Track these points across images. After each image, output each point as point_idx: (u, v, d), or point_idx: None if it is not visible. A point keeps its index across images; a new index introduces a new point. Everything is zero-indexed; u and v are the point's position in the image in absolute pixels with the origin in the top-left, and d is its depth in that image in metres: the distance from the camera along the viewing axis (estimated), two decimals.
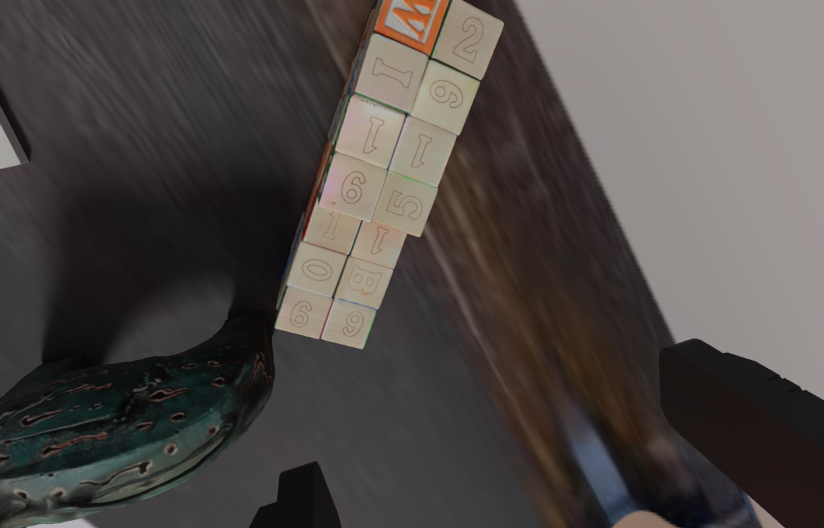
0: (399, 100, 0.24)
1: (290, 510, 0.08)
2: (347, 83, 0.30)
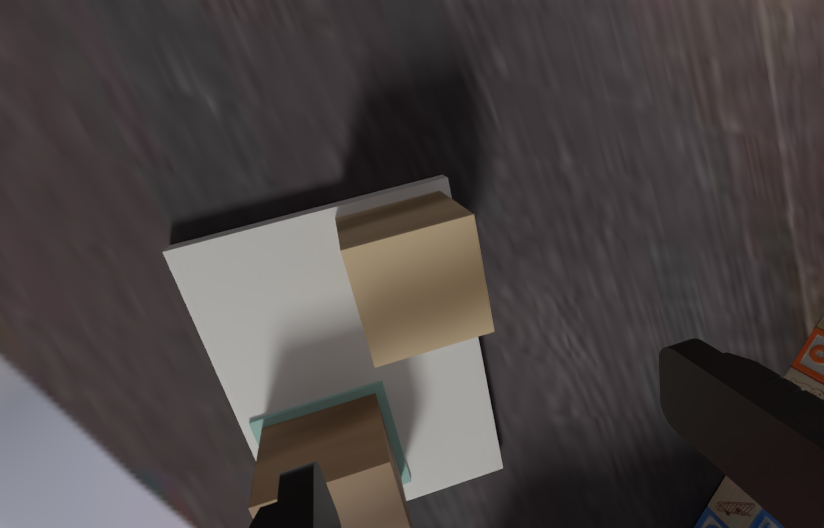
0: None
1: (290, 510, 0.08)
2: None
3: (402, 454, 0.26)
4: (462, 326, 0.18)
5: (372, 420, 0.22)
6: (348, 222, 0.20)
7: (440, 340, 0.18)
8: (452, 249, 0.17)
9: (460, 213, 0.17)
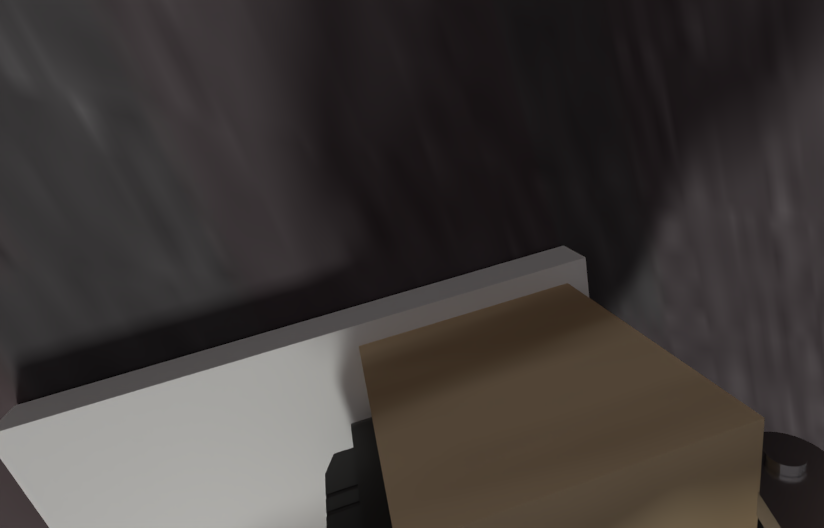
0: None
1: (367, 452, 0.09)
2: None
3: None
4: None
5: None
6: (392, 374, 0.09)
7: None
8: (694, 505, 0.06)
9: (706, 400, 0.06)
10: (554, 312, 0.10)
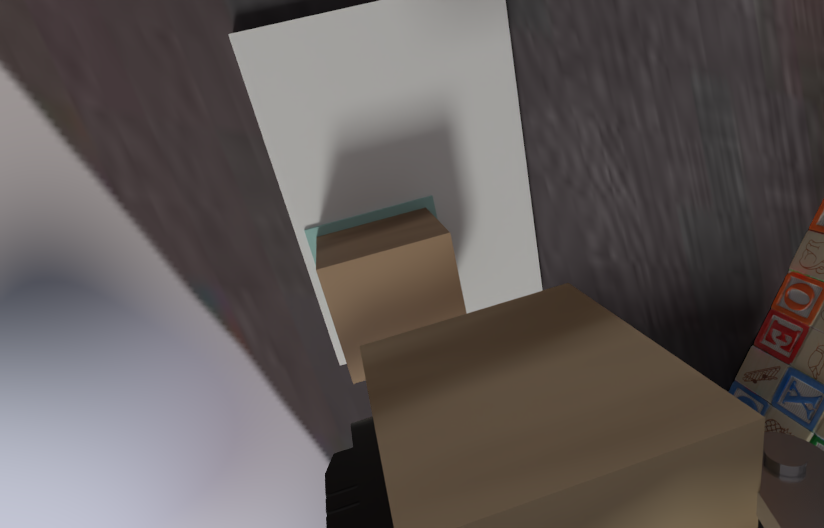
0: None
1: (367, 451, 0.09)
2: None
3: None
4: None
5: (426, 218, 0.23)
6: (392, 373, 0.09)
7: None
8: (694, 505, 0.06)
9: (706, 400, 0.06)
10: (555, 312, 0.10)
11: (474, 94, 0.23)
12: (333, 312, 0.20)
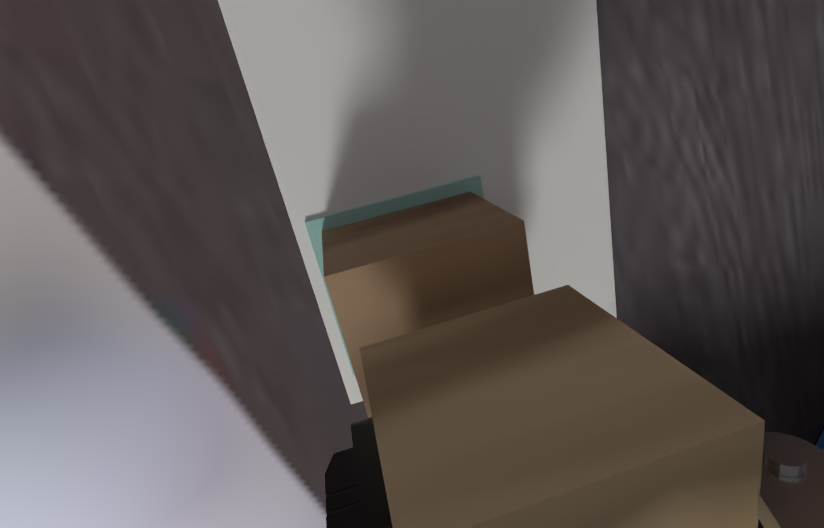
0: None
1: (367, 452, 0.09)
2: None
3: None
4: None
5: (478, 204, 0.16)
6: (392, 376, 0.09)
7: None
8: (693, 507, 0.06)
9: (706, 403, 0.06)
10: (554, 314, 0.10)
11: (540, 33, 0.17)
12: (349, 340, 0.14)
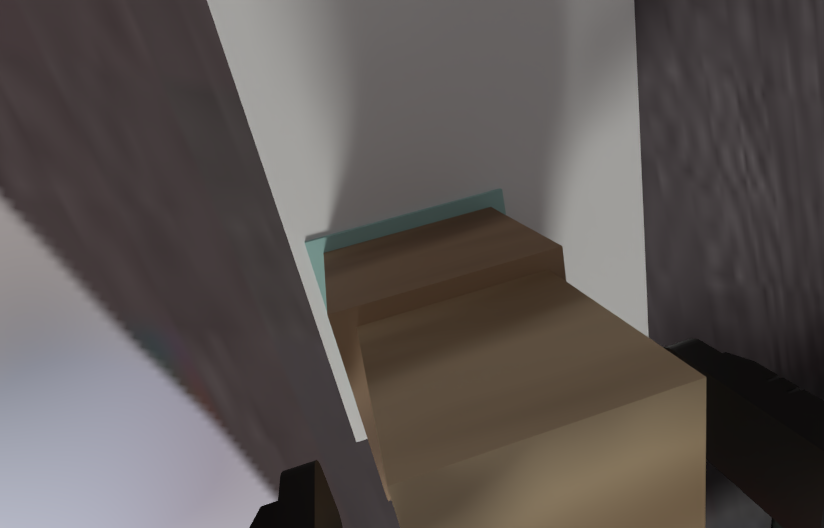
0: None
1: (291, 509, 0.08)
2: None
3: None
4: None
5: (502, 223, 0.14)
6: (386, 349, 0.10)
7: None
8: (646, 455, 0.07)
9: (659, 364, 0.07)
10: (534, 294, 0.10)
11: (571, 28, 0.15)
12: (357, 387, 0.11)
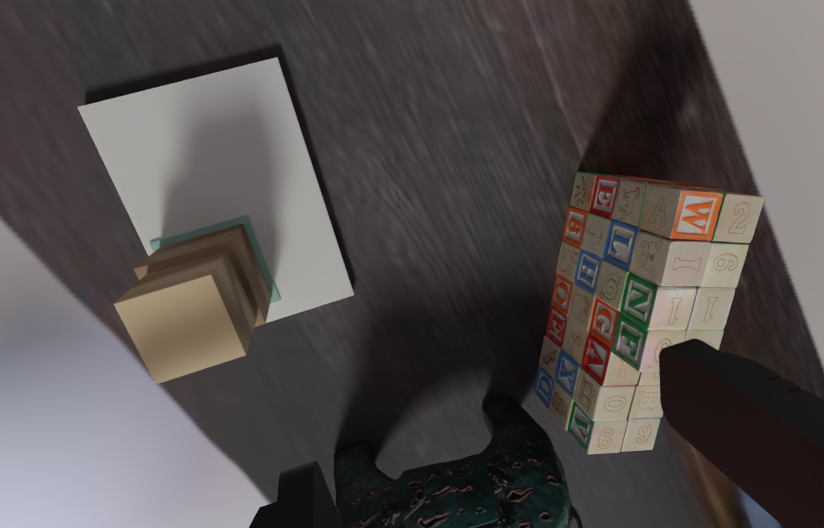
0: (693, 280, 0.29)
1: (290, 510, 0.08)
2: (588, 241, 0.36)
3: (270, 276, 0.35)
4: (219, 352, 0.25)
5: (232, 231, 0.31)
6: (147, 278, 0.27)
7: (204, 362, 0.25)
8: (199, 299, 0.24)
9: (206, 273, 0.24)
10: (210, 258, 0.28)
11: (269, 140, 0.32)
12: None
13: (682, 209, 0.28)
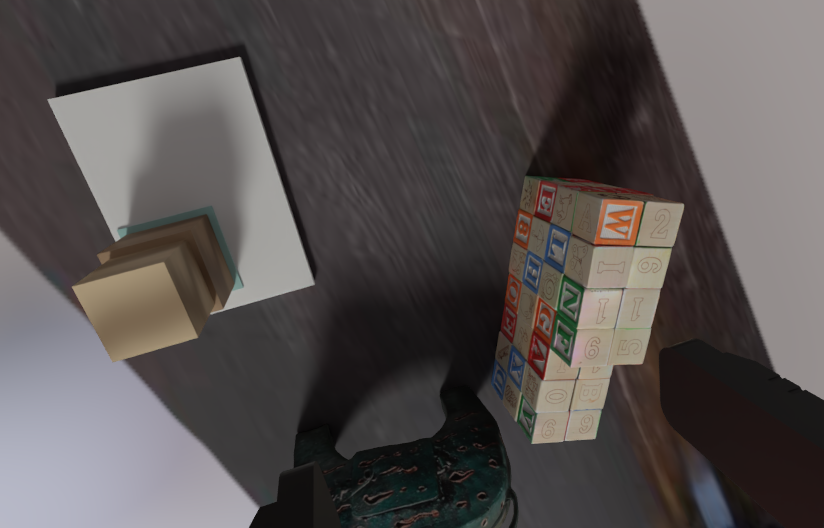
0: (618, 283, 0.31)
1: (290, 510, 0.08)
2: (533, 243, 0.38)
3: (233, 265, 0.37)
4: (172, 334, 0.27)
5: (195, 221, 0.33)
6: (108, 264, 0.29)
7: (158, 343, 0.27)
8: (153, 284, 0.26)
9: (160, 260, 0.26)
10: (168, 246, 0.29)
11: (232, 135, 0.34)
12: None
13: (604, 216, 0.30)
